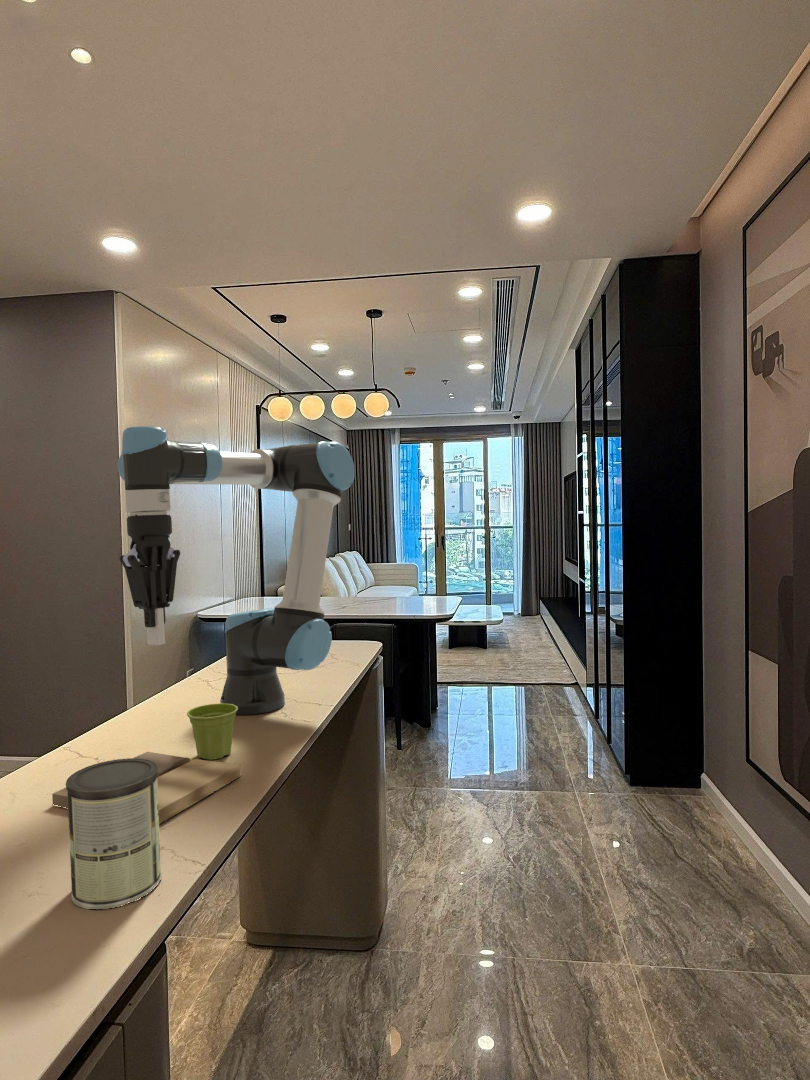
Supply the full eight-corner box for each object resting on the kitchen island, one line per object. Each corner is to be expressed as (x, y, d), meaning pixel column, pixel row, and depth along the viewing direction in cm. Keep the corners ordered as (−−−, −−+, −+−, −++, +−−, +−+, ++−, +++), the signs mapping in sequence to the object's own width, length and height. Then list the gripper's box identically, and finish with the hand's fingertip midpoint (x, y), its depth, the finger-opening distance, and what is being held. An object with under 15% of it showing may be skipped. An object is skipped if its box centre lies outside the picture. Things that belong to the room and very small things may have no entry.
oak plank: (195, 770, 118) (194, 759, 118) (240, 776, 114) (240, 764, 114) (104, 817, 100) (104, 804, 100) (155, 826, 96) (154, 812, 96)
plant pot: (186, 766, 120) (185, 719, 120) (189, 749, 129) (188, 705, 129) (239, 760, 123) (238, 714, 123) (238, 744, 132) (237, 701, 132)
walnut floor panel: (147, 762, 123) (147, 751, 123) (190, 769, 119) (189, 758, 119) (52, 806, 104) (52, 793, 104) (98, 816, 101) (98, 802, 100)
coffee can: (55, 891, 80) (50, 776, 80) (135, 856, 88) (131, 752, 88) (95, 922, 74) (90, 798, 73) (178, 881, 82) (174, 769, 81)
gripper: (138, 514, 111) (146, 653, 112) (190, 512, 123) (196, 637, 124) (104, 515, 114) (112, 650, 115) (157, 513, 126) (164, 635, 127)
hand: (156, 643), depth 120 cm, fingers closed
